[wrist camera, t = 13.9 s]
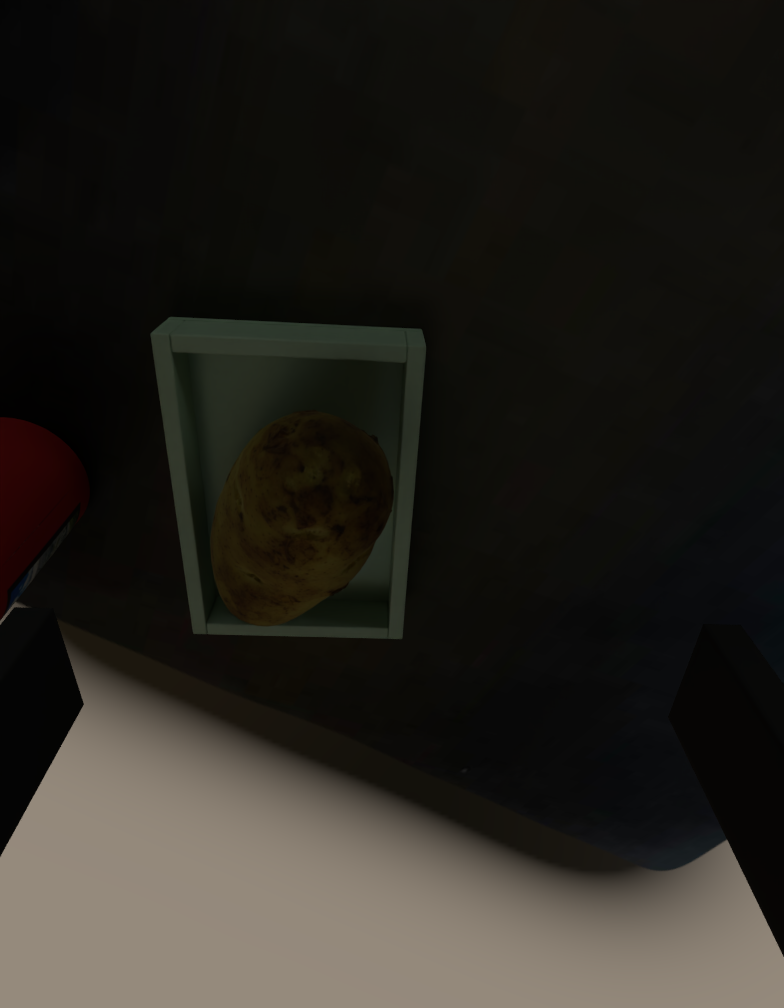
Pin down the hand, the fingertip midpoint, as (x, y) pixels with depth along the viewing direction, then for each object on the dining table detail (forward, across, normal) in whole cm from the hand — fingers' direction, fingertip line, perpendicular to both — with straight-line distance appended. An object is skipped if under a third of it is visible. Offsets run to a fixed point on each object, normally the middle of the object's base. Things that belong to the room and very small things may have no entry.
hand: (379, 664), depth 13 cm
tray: (+19, +4, +6) cm, 21 cm away
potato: (+19, +5, +6) cm, 21 cm away
